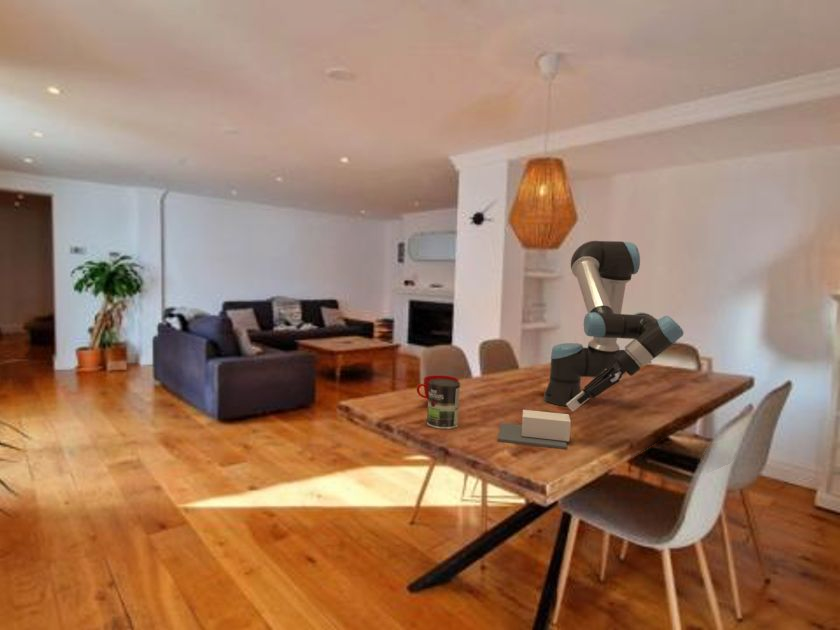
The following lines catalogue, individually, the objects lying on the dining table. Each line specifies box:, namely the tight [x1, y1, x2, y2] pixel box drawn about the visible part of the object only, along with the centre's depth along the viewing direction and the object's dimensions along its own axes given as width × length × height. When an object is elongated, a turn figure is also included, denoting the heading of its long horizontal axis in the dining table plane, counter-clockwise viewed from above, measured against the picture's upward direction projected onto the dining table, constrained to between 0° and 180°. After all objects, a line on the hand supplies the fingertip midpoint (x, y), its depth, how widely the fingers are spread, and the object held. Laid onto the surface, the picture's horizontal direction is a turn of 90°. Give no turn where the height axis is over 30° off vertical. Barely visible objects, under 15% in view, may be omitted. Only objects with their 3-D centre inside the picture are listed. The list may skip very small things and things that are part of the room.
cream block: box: [521, 409, 572, 442], centre depth 150 cm, size 6×8×14 cm
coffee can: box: [426, 379, 461, 430], centre depth 159 cm, size 10×10×14 cm
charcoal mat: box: [497, 422, 568, 450], centre depth 151 cm, size 20×16×1 cm
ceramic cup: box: [416, 375, 460, 400], centre depth 180 cm, size 13×17×10 cm
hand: (569, 407), depth 148 cm, fingers closed
